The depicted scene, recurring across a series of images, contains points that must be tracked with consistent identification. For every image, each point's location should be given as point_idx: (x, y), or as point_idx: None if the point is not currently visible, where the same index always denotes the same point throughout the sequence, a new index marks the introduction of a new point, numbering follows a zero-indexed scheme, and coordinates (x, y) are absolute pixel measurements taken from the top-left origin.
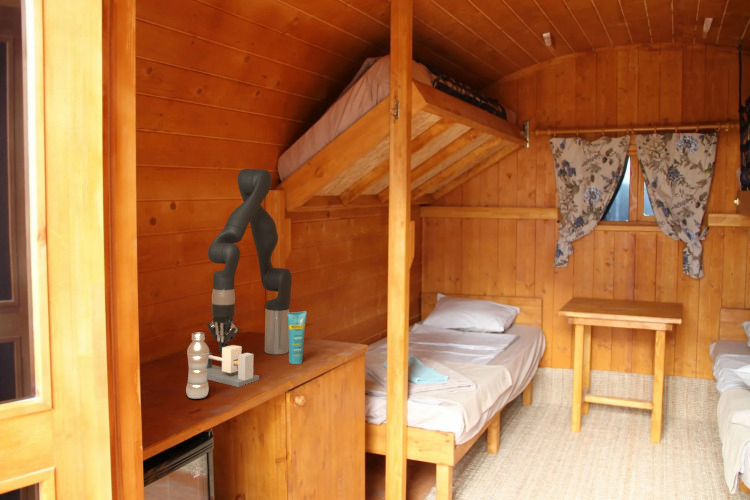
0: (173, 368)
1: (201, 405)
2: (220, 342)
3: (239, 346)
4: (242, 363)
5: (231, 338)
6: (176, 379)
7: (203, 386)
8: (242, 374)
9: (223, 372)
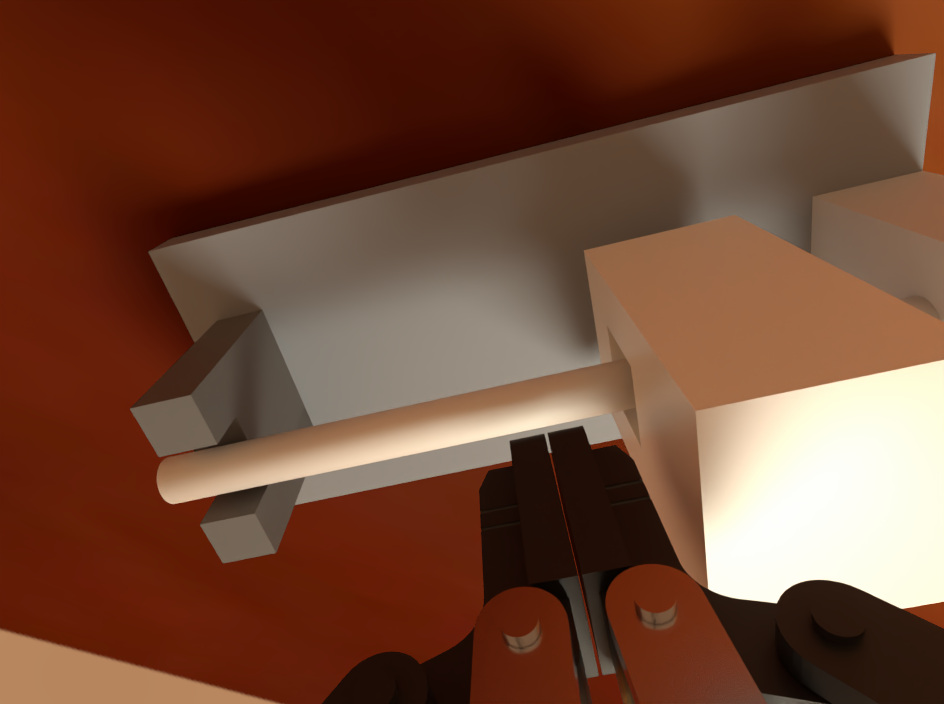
0: (11, 490)
1: None
2: (596, 674)
3: (936, 373)
4: None
5: (891, 653)
6: (346, 587)
7: None
8: None
9: (517, 314)
